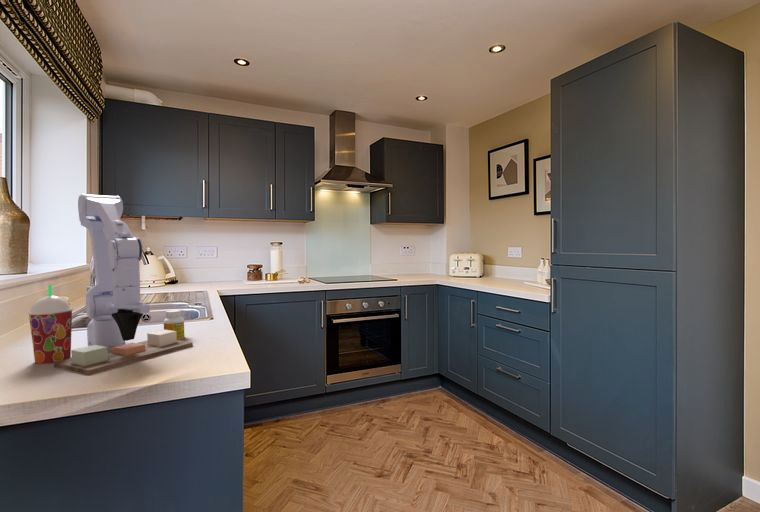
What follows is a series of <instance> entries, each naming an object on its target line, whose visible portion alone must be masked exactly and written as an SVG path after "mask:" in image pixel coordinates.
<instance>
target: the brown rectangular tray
mask: <svg viewBox="0 0 760 512" xmlns="http://www.w3.org/2000/svg"><path fill="white" fill-rule="evenodd" d="M138 343H139V344H145V351H141V352H137V353H133V354H129V355H125V356H124V355H118V354H113V348H109V349H107V350H108V360H106V361H102V362H98V363H94V364H90V365H87V366H80V365H76V364H72V357H71V358H69V359H66V360H62V361H58V362H54V363H53V367H54V368H57V369H61V370H65V371H69V372H73V373H78V374H83V375H86V376H91V375H93V374H94V375H95V374H97V373H101V372H105V371H108V370H113V369H115V368H119V367H123V366H125V365H126V366H127V365H130V364H134V363H136V362H137V363H138V362H140V361H141V362H142V361H144V360H147V359H152V358H155V357H159V356H162V355H166V354H170V353H173V352H176V351H181V350H184V349H187V348H191V347H193V346H194V344H193V343H194V342H192V341H186V340H181V339H180V340H177V342H176V343H172V344H168V345H164V346H160V347H158V346H152V345H148V339H147V340H143V341H140V342H138Z"/></svg>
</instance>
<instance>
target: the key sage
mask: <svg viewBox="0 0 760 512" xmlns="http://www.w3.org/2000/svg"><path fill="white" fill-rule="evenodd" d="M108 350H109V349H108V347H104V346H99V345H92V346H88V345H87V346H84V347H78V348H75V349H71V358H72V364H76V365H80V366H87V365H90V364H94V363H98V362H102V361H106V360H108Z"/></svg>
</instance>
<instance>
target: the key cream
mask: <svg viewBox="0 0 760 512" xmlns="http://www.w3.org/2000/svg"><path fill="white" fill-rule="evenodd" d="M146 334H147V340H148V345H152V346H158V347H160V346H164V345H168V344H172V343H176V342H177V333H176V331H171V330H164V329H161V330H157V331H153V332H148V333H146Z"/></svg>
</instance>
